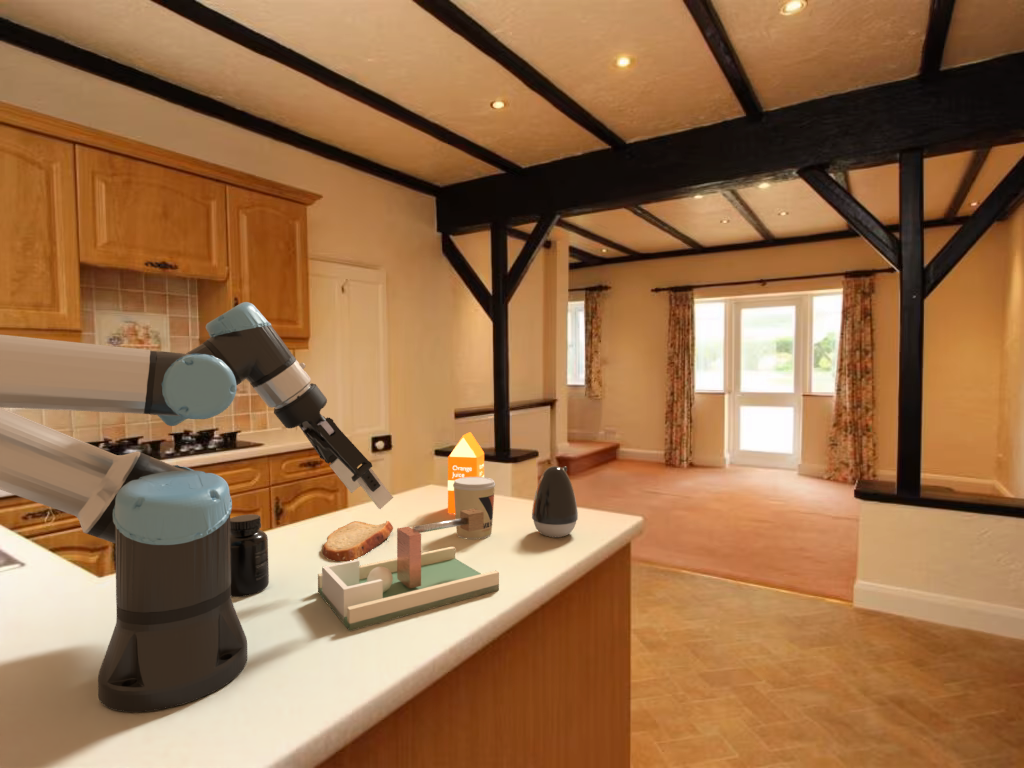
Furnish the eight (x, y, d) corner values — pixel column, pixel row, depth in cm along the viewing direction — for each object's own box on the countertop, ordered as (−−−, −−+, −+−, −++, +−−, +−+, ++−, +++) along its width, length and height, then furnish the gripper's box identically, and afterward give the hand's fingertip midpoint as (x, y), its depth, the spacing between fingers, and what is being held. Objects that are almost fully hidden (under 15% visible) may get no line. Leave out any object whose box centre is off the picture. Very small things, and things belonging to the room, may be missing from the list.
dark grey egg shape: (585, 531, 123) (586, 465, 123) (564, 544, 114) (565, 472, 114) (546, 524, 129) (546, 460, 128) (523, 536, 120) (523, 467, 120)
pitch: (349, 630, 76) (349, 595, 76) (318, 592, 89) (317, 562, 89) (498, 590, 90) (499, 560, 90) (452, 562, 103) (452, 536, 103)
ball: (372, 599, 84) (372, 573, 84) (363, 590, 87) (363, 566, 87) (396, 593, 86) (396, 568, 86) (387, 585, 90) (387, 561, 90)
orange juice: (447, 513, 138) (447, 435, 138) (456, 505, 147) (456, 431, 146) (477, 515, 137) (477, 436, 136) (484, 506, 146) (485, 432, 145)
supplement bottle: (259, 578, 95) (259, 510, 95) (275, 589, 90) (274, 517, 90) (217, 589, 90) (216, 517, 90) (230, 601, 85) (229, 526, 85)
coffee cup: (489, 541, 116) (489, 485, 115) (447, 539, 118) (447, 483, 117) (499, 529, 125) (499, 477, 125) (460, 526, 127) (460, 475, 126)
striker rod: (409, 588, 87) (409, 526, 87) (397, 578, 91) (397, 519, 91) (486, 569, 95) (486, 513, 95) (471, 561, 99) (472, 507, 99)
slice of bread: (335, 566, 102) (335, 547, 102) (303, 542, 116) (303, 525, 116) (419, 547, 113) (419, 529, 113) (381, 527, 127) (381, 511, 127)
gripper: (336, 382, 76) (418, 493, 84) (293, 379, 97) (362, 468, 104) (291, 416, 73) (381, 528, 80) (256, 405, 93) (330, 495, 101)
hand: (370, 494), depth 92 cm, fingers open, 13 cm apart
